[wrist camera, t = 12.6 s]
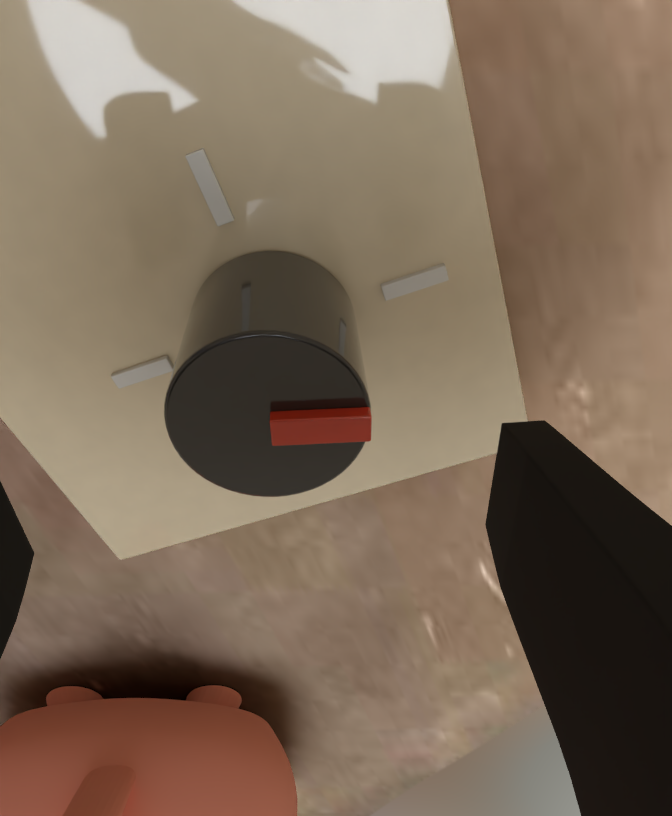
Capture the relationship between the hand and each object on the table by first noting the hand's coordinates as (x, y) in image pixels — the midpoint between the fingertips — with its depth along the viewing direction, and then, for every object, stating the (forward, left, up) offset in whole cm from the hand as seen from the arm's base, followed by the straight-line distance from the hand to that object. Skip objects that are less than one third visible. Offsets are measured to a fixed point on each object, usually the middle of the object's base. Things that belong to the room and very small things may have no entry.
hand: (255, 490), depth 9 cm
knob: (0, 0, -5) cm, 5 cm away
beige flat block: (-1, -1, -8) cm, 8 cm away
